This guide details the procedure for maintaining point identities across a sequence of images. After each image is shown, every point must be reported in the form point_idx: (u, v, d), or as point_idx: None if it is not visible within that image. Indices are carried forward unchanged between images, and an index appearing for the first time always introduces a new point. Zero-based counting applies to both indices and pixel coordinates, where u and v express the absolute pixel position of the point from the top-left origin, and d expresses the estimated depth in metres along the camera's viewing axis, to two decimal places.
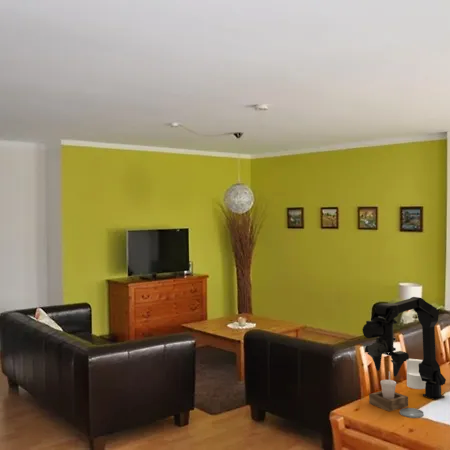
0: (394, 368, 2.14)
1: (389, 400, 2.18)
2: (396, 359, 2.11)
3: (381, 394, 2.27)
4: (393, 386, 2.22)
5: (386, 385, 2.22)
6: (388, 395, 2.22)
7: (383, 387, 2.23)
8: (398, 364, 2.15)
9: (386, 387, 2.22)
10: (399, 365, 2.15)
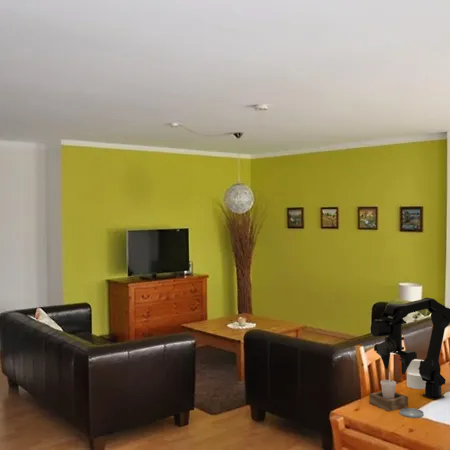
0: (402, 366, 2.21)
1: (389, 400, 2.18)
2: (404, 358, 2.17)
3: (381, 394, 2.27)
4: (393, 386, 2.22)
5: (386, 385, 2.22)
6: (388, 395, 2.22)
7: (383, 387, 2.23)
8: (406, 363, 2.21)
9: (386, 387, 2.22)
10: (407, 364, 2.21)
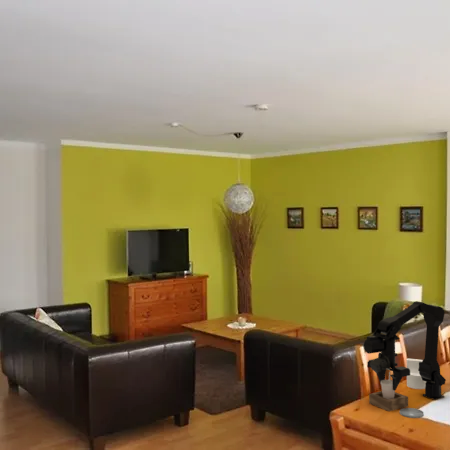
0: (393, 382, 2.20)
1: (389, 400, 2.18)
2: (398, 375, 2.15)
3: (381, 394, 2.27)
4: None
5: (386, 385, 2.22)
6: (388, 395, 2.22)
7: (383, 387, 2.23)
8: (397, 378, 2.21)
9: (386, 387, 2.22)
10: (398, 379, 2.21)
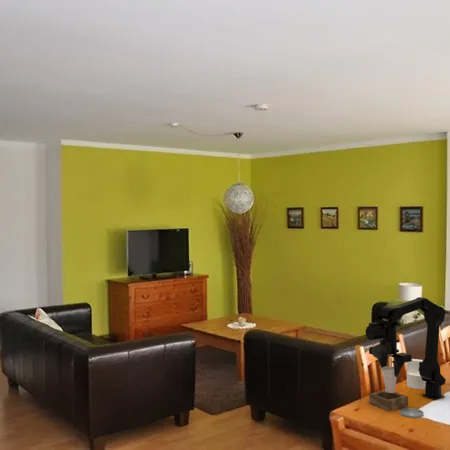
0: (395, 369, 2.19)
1: (389, 400, 2.18)
2: (399, 361, 2.15)
3: (381, 394, 2.27)
4: None
5: (388, 371, 2.21)
6: (389, 382, 2.21)
7: (385, 373, 2.22)
8: (399, 365, 2.20)
9: (388, 373, 2.21)
10: (400, 366, 2.20)
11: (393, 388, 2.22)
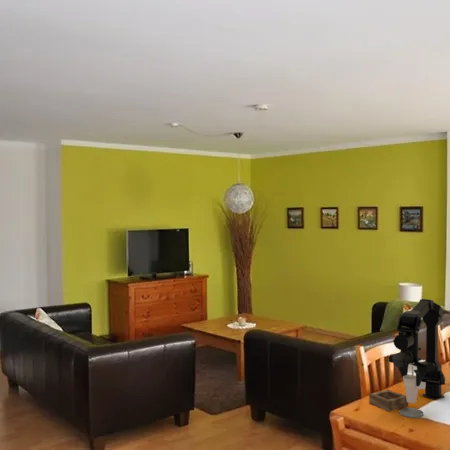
0: (417, 378, 2.10)
1: (389, 400, 2.18)
2: (422, 370, 2.05)
3: (381, 394, 2.27)
4: None
5: (409, 381, 2.11)
6: (411, 391, 2.12)
7: (406, 383, 2.13)
8: (421, 374, 2.10)
9: (409, 383, 2.11)
10: (422, 375, 2.10)
11: (415, 398, 2.12)
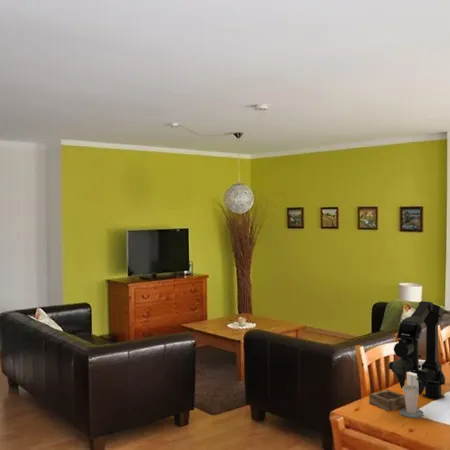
0: (419, 386, 2.09)
1: (389, 400, 2.18)
2: (422, 377, 2.05)
3: (381, 394, 2.27)
4: (416, 392, 2.11)
5: (409, 391, 2.11)
6: (411, 402, 2.11)
7: (405, 393, 2.12)
8: (423, 382, 2.09)
9: (409, 393, 2.11)
10: (424, 383, 2.09)
11: (415, 408, 2.12)
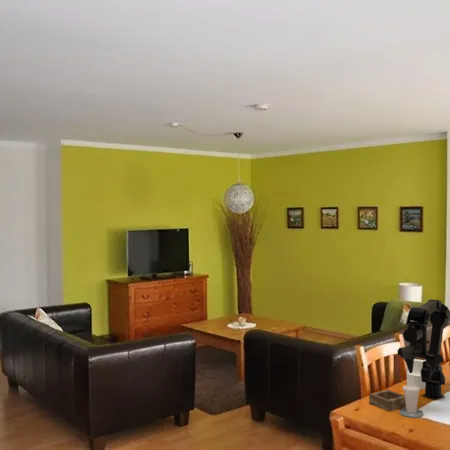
0: (429, 371, 2.16)
1: (389, 400, 2.18)
2: (431, 362, 2.12)
3: (381, 394, 2.27)
4: (417, 392, 2.11)
5: (409, 391, 2.11)
6: (411, 402, 2.12)
7: (406, 393, 2.13)
8: (432, 367, 2.17)
9: (409, 393, 2.11)
10: (433, 368, 2.17)
11: (415, 408, 2.12)
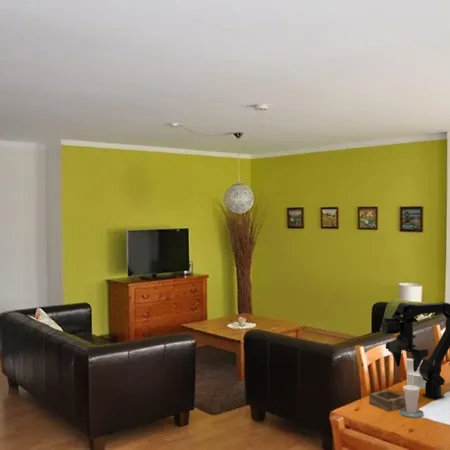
0: (414, 364, 2.26)
1: (389, 400, 2.18)
2: (416, 355, 2.22)
3: (381, 394, 2.27)
4: (417, 392, 2.11)
5: (409, 391, 2.11)
6: (411, 401, 2.12)
7: (406, 393, 2.13)
8: (418, 360, 2.26)
9: (409, 393, 2.11)
10: (419, 361, 2.26)
11: (415, 408, 2.12)
